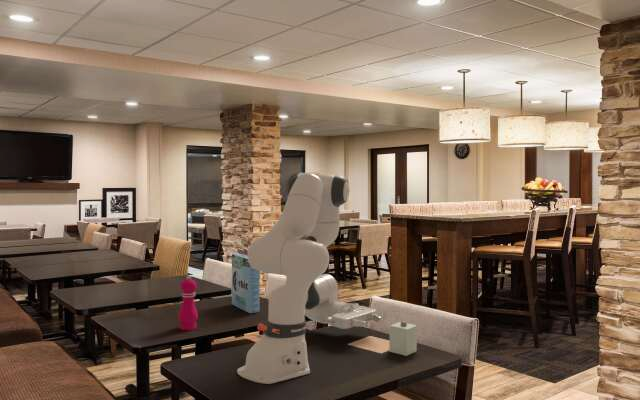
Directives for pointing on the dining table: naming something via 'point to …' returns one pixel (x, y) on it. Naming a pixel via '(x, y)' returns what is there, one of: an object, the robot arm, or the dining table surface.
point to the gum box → (245, 284)
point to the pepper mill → (188, 305)
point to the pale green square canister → (403, 338)
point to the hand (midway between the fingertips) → (373, 321)
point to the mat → (372, 344)
